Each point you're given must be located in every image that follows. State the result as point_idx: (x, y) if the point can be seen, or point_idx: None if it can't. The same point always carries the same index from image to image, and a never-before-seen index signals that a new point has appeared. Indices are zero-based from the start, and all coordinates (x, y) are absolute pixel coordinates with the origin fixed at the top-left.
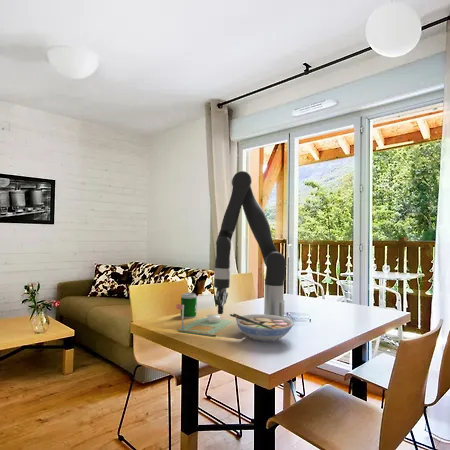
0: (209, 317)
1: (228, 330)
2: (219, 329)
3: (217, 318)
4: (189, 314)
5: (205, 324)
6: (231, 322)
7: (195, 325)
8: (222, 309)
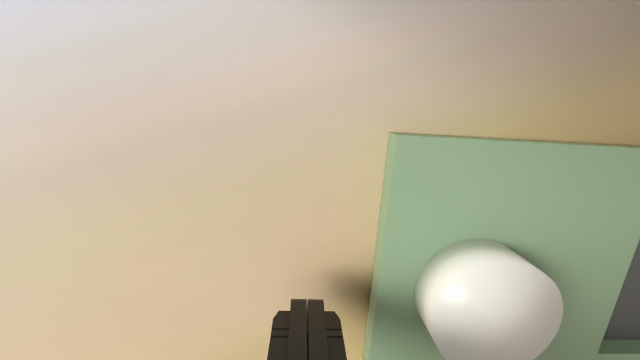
0: (548, 337)
1: (622, 109)
2: None
3: (538, 269)
4: None
5: (581, 308)
6: (459, 141)
7: (620, 353)
8: (316, 331)
